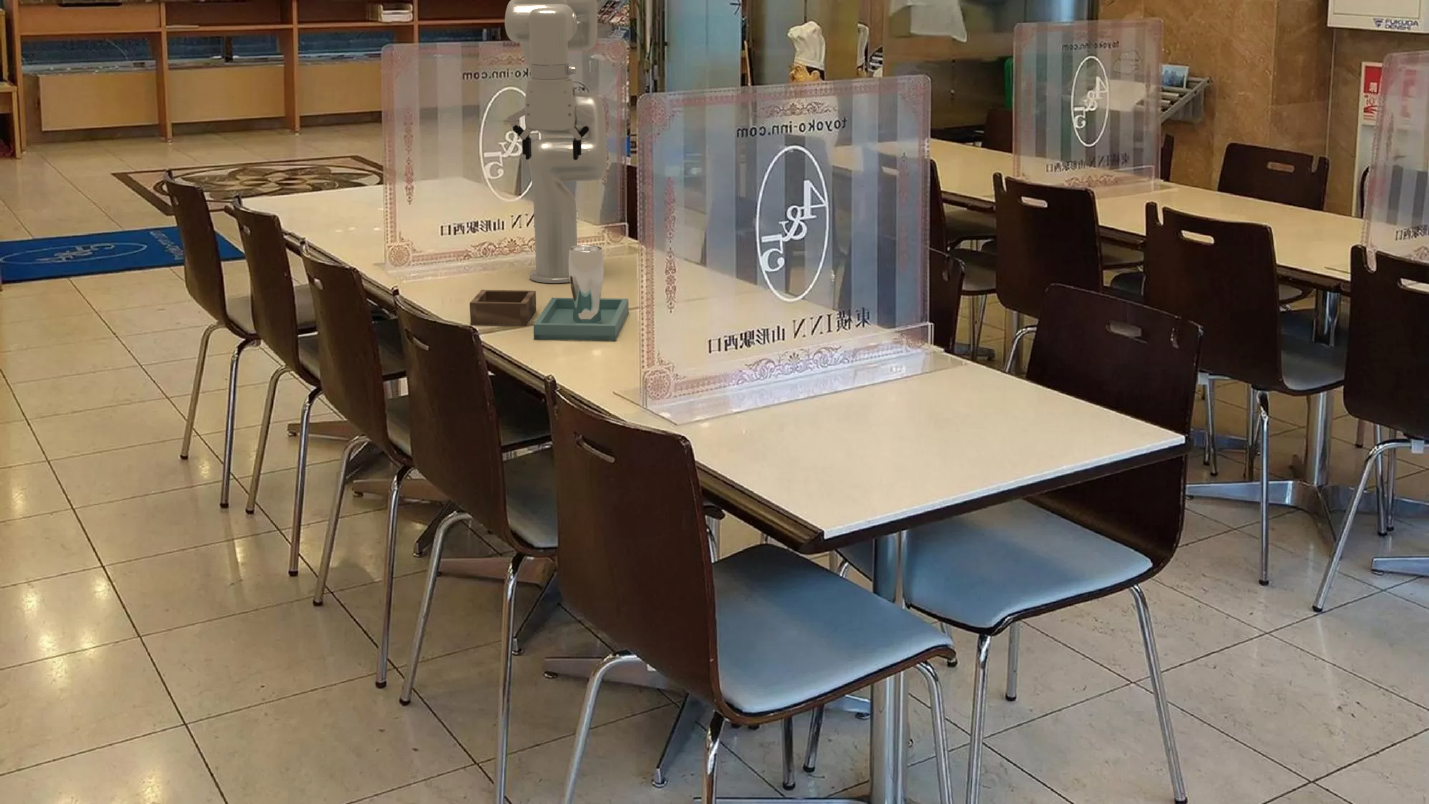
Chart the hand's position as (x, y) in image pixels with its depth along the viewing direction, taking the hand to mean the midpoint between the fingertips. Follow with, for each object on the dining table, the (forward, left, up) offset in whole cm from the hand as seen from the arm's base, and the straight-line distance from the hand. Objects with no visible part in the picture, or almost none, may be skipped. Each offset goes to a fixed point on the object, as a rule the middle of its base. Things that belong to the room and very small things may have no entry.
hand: (552, 158), depth 302 cm
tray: (+11, +7, -32) cm, 34 cm away
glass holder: (+6, -10, -32) cm, 34 cm away
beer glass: (+12, +8, -31) cm, 34 cm away
